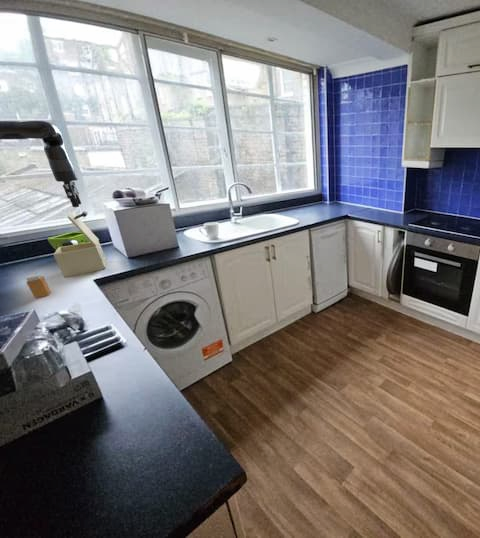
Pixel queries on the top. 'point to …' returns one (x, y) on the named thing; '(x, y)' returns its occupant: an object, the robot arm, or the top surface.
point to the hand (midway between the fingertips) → (77, 205)
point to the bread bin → (80, 259)
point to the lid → (83, 227)
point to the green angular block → (67, 239)
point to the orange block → (38, 285)
